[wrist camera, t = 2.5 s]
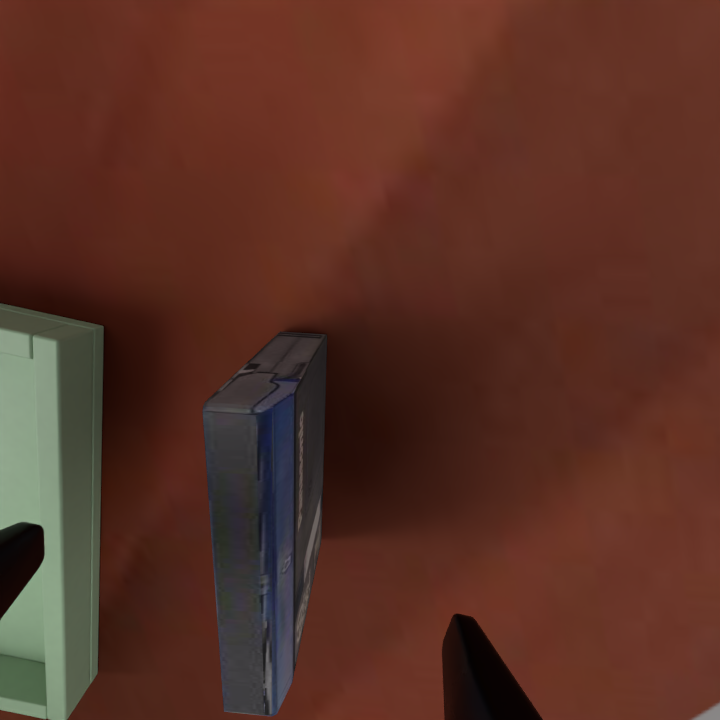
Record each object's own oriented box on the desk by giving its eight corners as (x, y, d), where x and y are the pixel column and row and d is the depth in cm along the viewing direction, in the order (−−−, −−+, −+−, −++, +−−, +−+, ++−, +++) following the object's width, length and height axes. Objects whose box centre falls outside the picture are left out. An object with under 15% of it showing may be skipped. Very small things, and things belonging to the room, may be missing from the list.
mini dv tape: (321, 540, 15) (285, 720, 10) (282, 537, 16) (224, 713, 10) (327, 333, 13) (284, 411, 7) (281, 330, 13) (202, 405, 7)
